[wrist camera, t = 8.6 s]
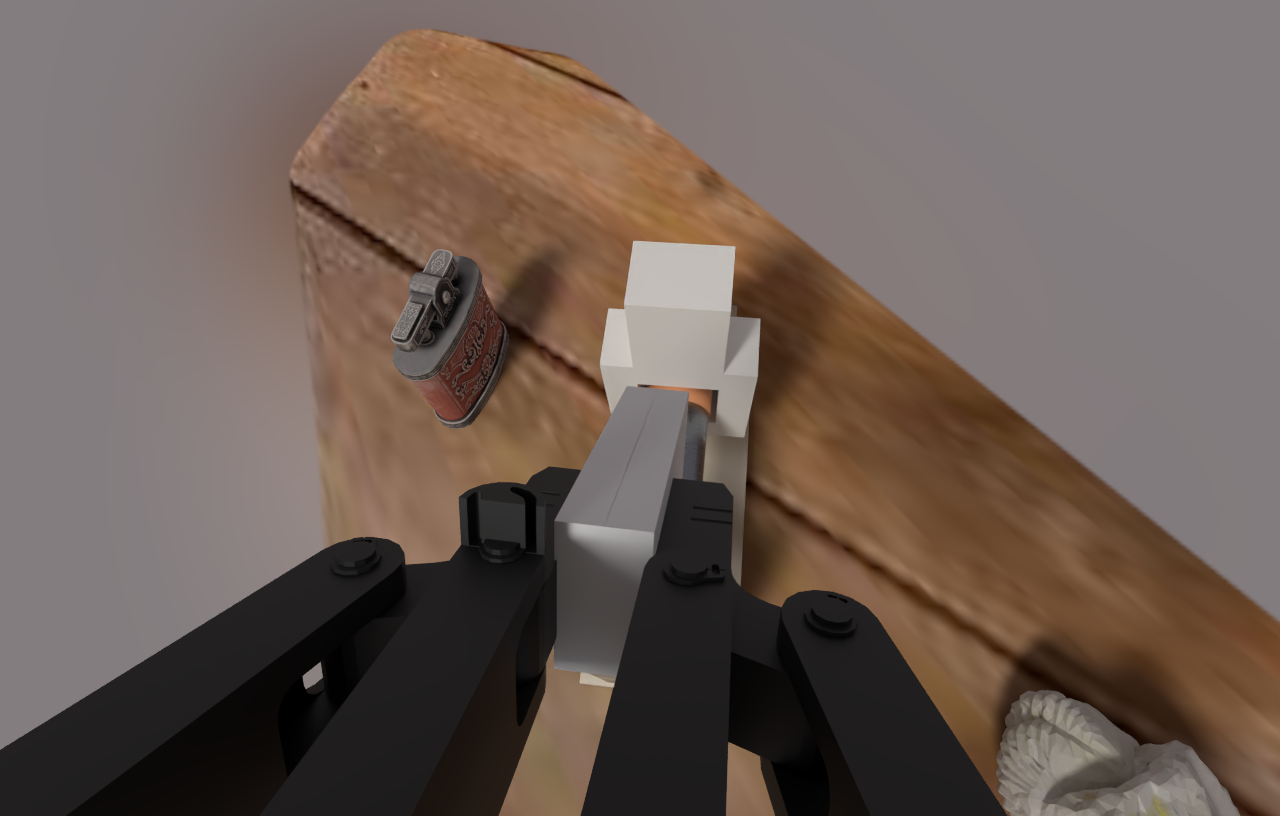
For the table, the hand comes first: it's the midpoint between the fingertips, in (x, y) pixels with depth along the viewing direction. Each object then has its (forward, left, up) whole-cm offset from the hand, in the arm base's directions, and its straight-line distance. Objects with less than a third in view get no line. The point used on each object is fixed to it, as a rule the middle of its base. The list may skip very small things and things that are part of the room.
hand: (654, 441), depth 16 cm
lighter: (+19, +3, -24) cm, 31 cm away
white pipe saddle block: (+7, -6, -18) cm, 20 cm away
